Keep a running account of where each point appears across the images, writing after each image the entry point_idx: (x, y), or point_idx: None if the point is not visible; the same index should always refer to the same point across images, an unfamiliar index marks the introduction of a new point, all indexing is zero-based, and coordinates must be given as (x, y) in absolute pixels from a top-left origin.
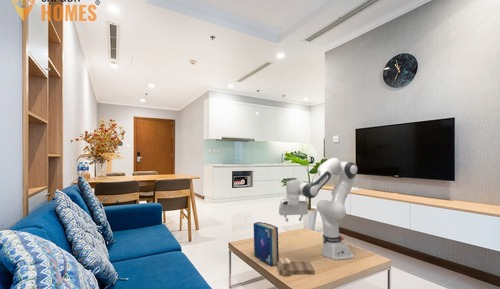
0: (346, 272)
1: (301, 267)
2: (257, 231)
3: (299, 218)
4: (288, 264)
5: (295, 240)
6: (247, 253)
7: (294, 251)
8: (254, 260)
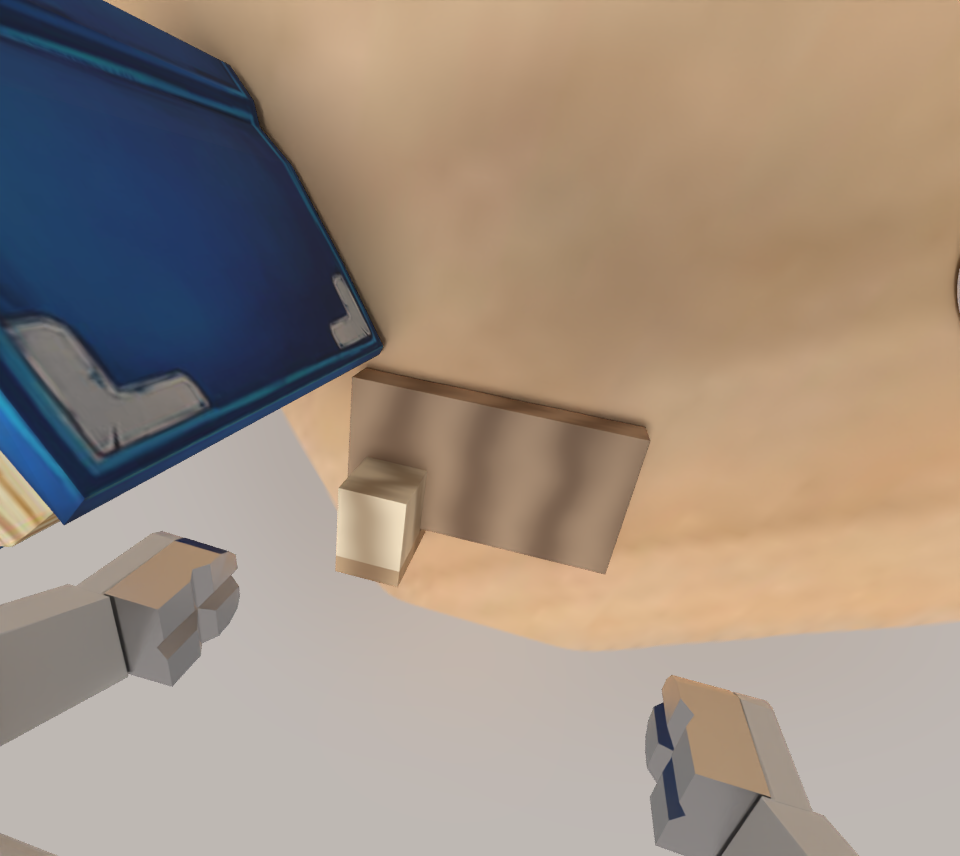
0: (869, 604)
1: (523, 516)
2: None
3: (665, 836)
4: (384, 579)
5: None
6: None
7: (666, 47)
8: None
